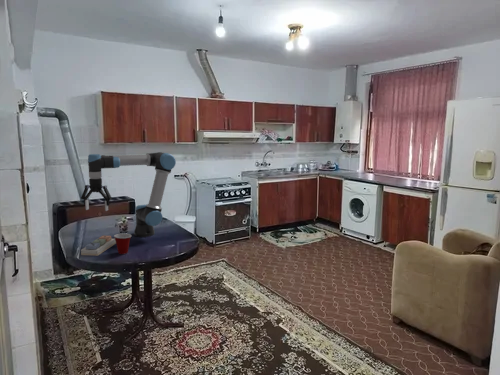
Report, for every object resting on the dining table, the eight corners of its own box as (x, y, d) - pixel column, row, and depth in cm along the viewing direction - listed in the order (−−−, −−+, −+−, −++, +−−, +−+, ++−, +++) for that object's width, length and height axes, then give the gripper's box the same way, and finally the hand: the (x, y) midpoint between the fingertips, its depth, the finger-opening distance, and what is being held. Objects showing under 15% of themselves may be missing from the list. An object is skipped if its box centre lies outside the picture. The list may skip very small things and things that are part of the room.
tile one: (111, 238, 242) (111, 235, 241) (107, 241, 236) (107, 238, 235) (103, 238, 242) (102, 235, 242) (98, 241, 236) (98, 237, 236)
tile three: (99, 246, 226) (99, 242, 226) (94, 249, 220) (94, 245, 220) (90, 245, 226) (90, 242, 226) (85, 248, 220) (85, 245, 220)
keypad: (116, 243, 244) (115, 238, 243) (97, 255, 219) (97, 250, 218) (101, 242, 244) (100, 237, 244) (81, 254, 220) (80, 249, 219)
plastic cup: (135, 252, 226) (134, 235, 224) (120, 256, 218) (119, 238, 216) (126, 248, 233) (126, 231, 231) (111, 252, 225) (110, 235, 223)
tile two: (105, 242, 234) (105, 239, 233) (101, 245, 228) (101, 241, 228) (97, 242, 234) (97, 238, 234) (92, 244, 228) (92, 241, 228)
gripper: (116, 177, 227) (117, 209, 230) (80, 176, 229) (82, 207, 232) (110, 179, 219) (112, 212, 223) (73, 178, 221) (75, 210, 225)
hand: (97, 210), depth 228 cm, fingers open, 13 cm apart
